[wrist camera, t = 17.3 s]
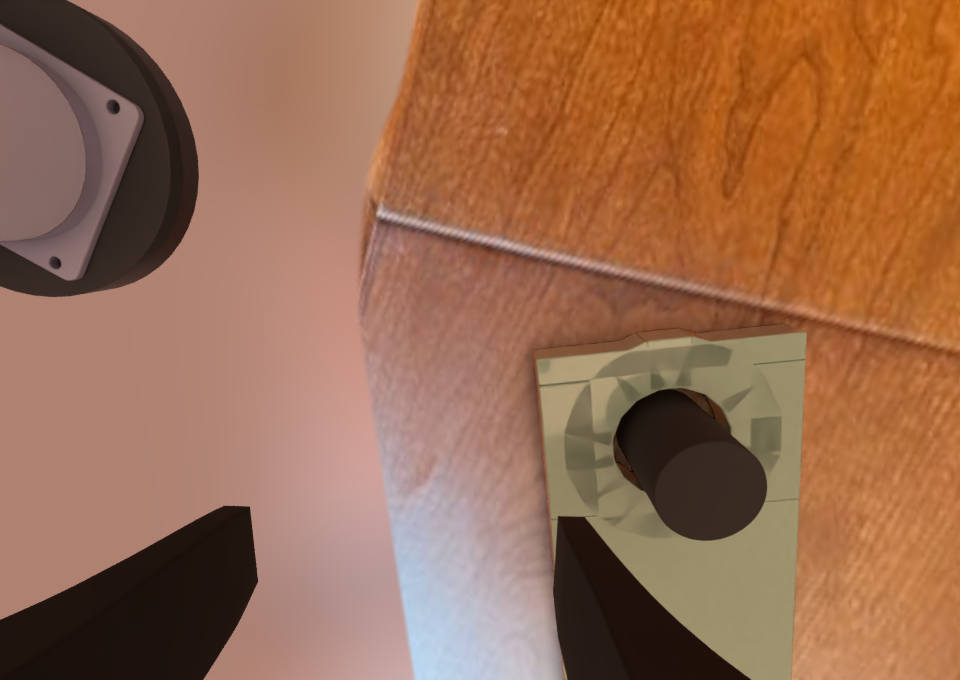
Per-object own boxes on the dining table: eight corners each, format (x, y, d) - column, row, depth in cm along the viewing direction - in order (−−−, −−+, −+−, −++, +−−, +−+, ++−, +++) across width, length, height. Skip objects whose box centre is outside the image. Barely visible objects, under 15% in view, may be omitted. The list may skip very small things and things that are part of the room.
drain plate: (531, 342, 20) (535, 352, 18) (784, 316, 19) (808, 324, 18) (568, 729, 24) (572, 762, 23) (770, 717, 24) (789, 750, 22)
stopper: (599, 441, 20) (632, 508, 16) (648, 372, 20) (699, 421, 15) (668, 481, 21) (721, 559, 16) (719, 415, 20) (792, 476, 15)
